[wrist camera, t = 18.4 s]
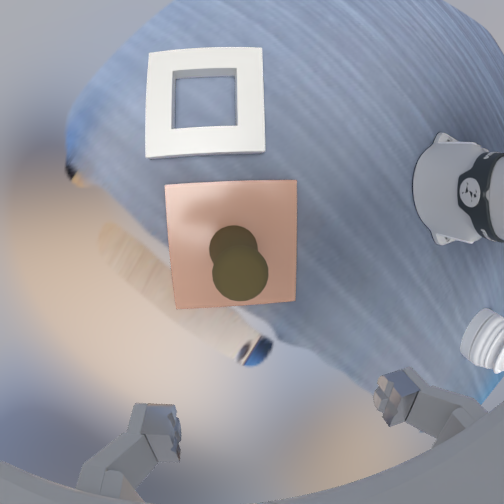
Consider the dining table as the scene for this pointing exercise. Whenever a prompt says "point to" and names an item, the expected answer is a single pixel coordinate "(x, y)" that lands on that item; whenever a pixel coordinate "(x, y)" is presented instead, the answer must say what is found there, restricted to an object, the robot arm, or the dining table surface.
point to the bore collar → (215, 137)
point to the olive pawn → (237, 264)
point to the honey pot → (485, 340)
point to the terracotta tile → (226, 214)
